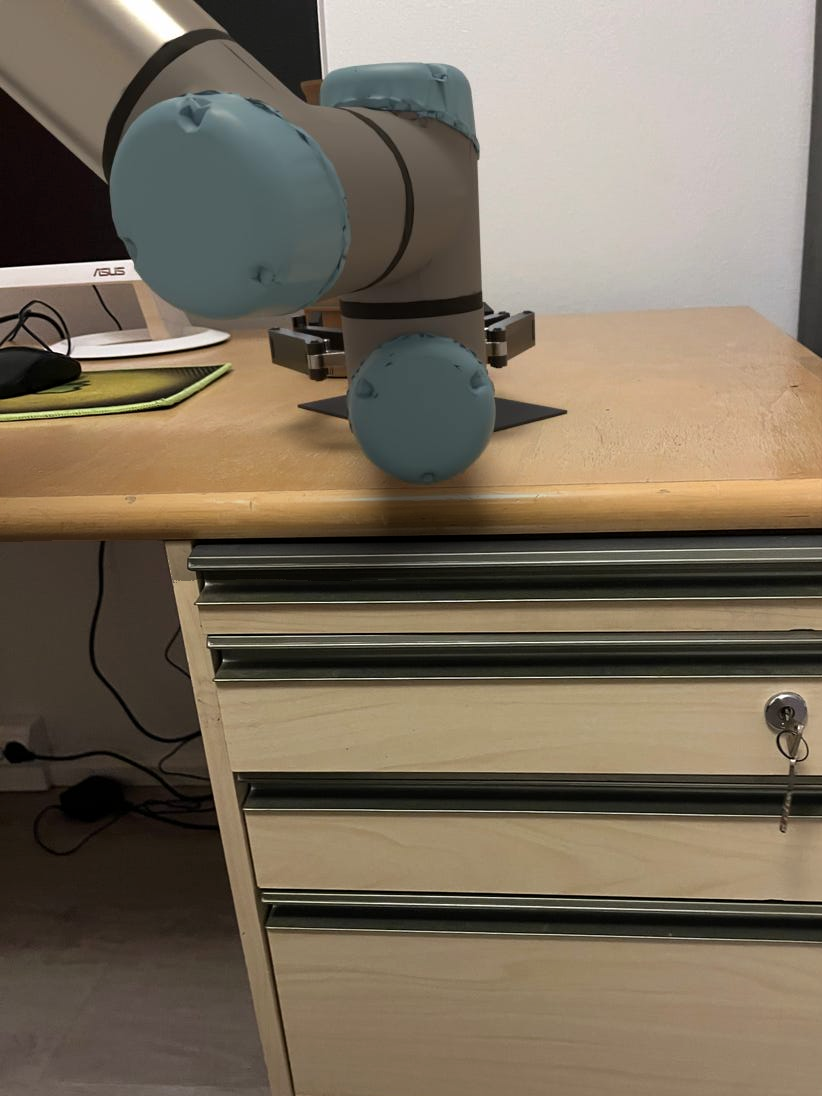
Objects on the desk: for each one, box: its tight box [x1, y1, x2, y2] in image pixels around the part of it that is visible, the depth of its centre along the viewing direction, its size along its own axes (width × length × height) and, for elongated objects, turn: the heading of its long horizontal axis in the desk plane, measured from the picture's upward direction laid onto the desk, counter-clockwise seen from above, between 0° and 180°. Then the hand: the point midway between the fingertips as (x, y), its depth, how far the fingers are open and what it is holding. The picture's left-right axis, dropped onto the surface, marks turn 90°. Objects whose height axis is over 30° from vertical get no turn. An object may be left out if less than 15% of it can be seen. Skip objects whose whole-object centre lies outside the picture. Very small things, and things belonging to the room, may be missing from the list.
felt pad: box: [296, 394, 568, 433], centre depth 80 cm, size 20×12×1 cm, turn 41°
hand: (400, 324), depth 82 cm, fingers open, 13 cm apart
